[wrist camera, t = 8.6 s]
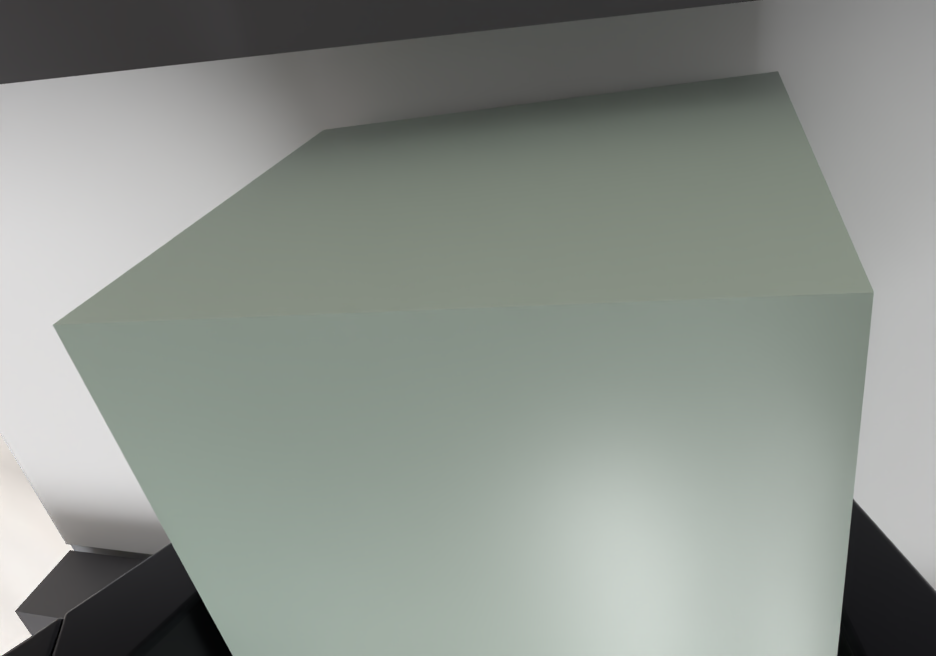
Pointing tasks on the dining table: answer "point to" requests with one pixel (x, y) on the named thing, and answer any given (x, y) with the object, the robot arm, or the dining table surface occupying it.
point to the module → (506, 384)
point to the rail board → (396, 98)
